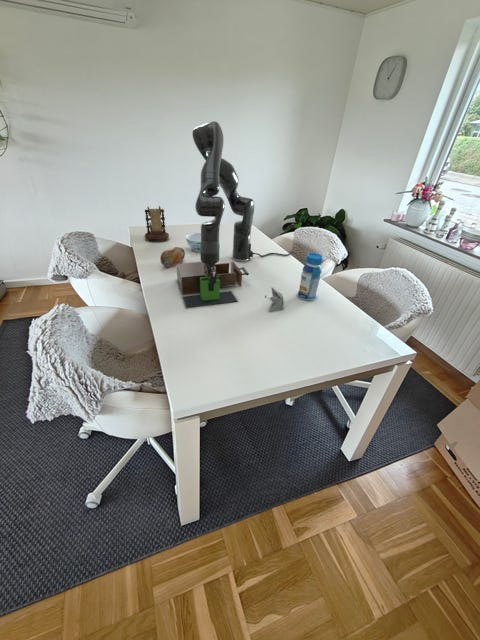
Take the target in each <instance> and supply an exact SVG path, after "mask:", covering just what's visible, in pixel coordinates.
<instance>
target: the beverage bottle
mask: <svg viewBox="0 0 480 640" xmlns="http://www.w3.org/2000/svg"><path fill="white" fill-rule="evenodd" d="M323 260H324V257H323V255H322V254H320V253H316V252H310V253H307V255H306V258H305V261H306V262H305V264H304V265H303V267H302V272H301V275H300V283H299V288H298V293H297V296H298V297H299V299H301V300H303V301H314V300H315V299H316V297H317V292H318V288H319V283H320V280H321V279H322V276H321V275H322V266H321V265H322V264H323Z"/></svg>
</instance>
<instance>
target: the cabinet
mask: <svg viewBox="0 0 480 640" xmlns="http://www.w3.org/2000/svg"><path fill="white" fill-rule="evenodd" d="M175 266H176V280H177V283H178V285H179V289H180V291H181V294H182V295H184V296H186V295H195V294H200V278H201V277H205V274H204V263H203V262H202V261H194V262H192V261H191V262H181V263H179V264H176V265H175Z"/></svg>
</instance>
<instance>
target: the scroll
mask: <svg viewBox="0 0 480 640" xmlns="http://www.w3.org/2000/svg"><path fill="white" fill-rule="evenodd" d="M164 212H165V209H164V208H161V206H160V205H159V206H158V208H150V207H149V206H147V209H144V213H145V222H146V227H145V228H146V229H147V231H146V233H145V234H144V238H145V239H146V240H149V242H150V243H151V242H152V241H157V242H158V241H164V240H165V242H167V240H168V239H169V237H170V234H169V233H168V232H167V231H166V223H165V221H166V216H165V213H164Z"/></svg>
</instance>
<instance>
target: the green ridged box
mask: <svg viewBox="0 0 480 640" xmlns="http://www.w3.org/2000/svg"><path fill="white" fill-rule="evenodd" d="M220 288H221V287H220V280H219V276H217V278H216V284H214V291H209V283H208V278H207V277H201V278H200V293H199V295H200V297H201V299H202V301H207V300H216V299H219V292H220Z"/></svg>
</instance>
